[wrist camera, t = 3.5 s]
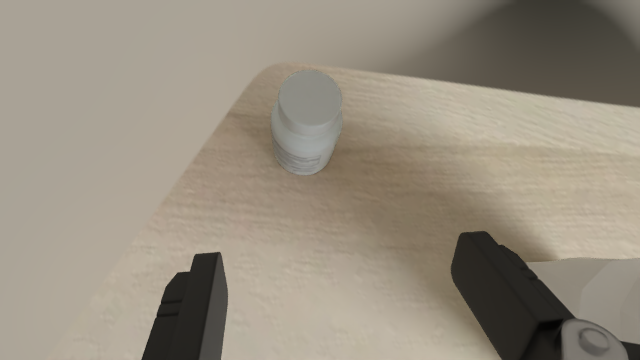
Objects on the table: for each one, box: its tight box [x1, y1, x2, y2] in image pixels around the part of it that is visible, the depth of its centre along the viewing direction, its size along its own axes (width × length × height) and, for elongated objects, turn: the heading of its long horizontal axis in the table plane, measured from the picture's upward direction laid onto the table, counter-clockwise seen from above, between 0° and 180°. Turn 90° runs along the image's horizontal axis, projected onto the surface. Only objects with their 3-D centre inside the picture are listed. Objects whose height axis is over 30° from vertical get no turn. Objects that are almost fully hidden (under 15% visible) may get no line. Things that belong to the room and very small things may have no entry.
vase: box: [526, 258, 640, 344], centre depth 18 cm, size 9×9×12 cm
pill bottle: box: [271, 70, 343, 175], centre depth 22 cm, size 4×4×8 cm
